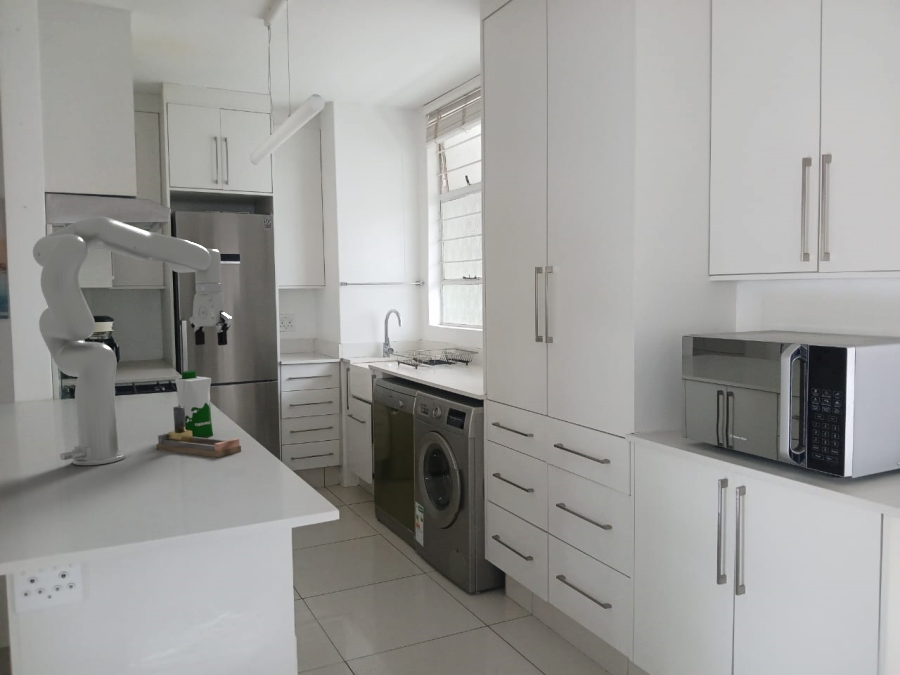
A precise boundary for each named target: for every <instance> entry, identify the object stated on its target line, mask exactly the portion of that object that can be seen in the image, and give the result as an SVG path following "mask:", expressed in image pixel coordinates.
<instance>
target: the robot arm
mask: <svg viewBox="0 0 900 675" xmlns="http://www.w3.org/2000/svg"><path fill="white" fill-rule="evenodd" d="M32 248H33V249H32V255H33V256H32V257H33V259H34V261H35V262H36V263H37V264H38V265H39V266H41V267H42V270H41V274H40V288H41V292H42V295H43V297H44V300H45V302H46V306H47V308H45V309H44V310H43V311H42V312H41V314H40V317H39V321H38V325H39V326H38V328H39V331H40V334H41V336H42V339H43V341H44V343H45V346H46V347H47V350H48V351H49V354H50V356H51V357H52V358H51V359H53V361H54V363H55V366H56V367H57V368H58V370H59V371H60V372H62V373H63V374H65V375H66V376H70V377H73V378H75V377H76V378H77V379H76V383H75V389H74V402H75V412H76V413H75V416H76V430H77V433H76V434H77V445H74V446H73V447H74V449H72V450H71V451H65V452H61V453H60V454H59V457H60V460H61V461H66V460H70V459H71V460H72V464H74V465H76V466H95V465H104V464H110V463H115V462H117V461H121V460H123V459H125V457H126V452H125V451H122V450H119V434H118V432H119V431H118V418H117V404H116V402H117V401H116V388H115V387H116V372H117V367H118V366H117V365H118V362H117V356H116V353H115V352H114V350H113V349H112V348H111V347H110V346H109V345H107V344H104V343H102V342H98V341H85V340H87V339H89V338H90V337H92V335H93V334H94V333H95V330H96V322H95V318H94V316H93V314H92V311H91V309H90V307H89V305H88V302H87V300H86V298H85V296H84V293H83V291H82V289H81V286H80V283H79V282H80V280H79V276H80V275H79V274H80V272H81V268H82V266H83V265H84V263H85V261H86V260H87V258H88V254H89V252H90V251H91V250H99V249H100V250H104V251H108V252H111V253H115V254H117V255H121V256H125V257H128V258H130V259H131V258H132V259H134V260H138V261H143V262H155V263H156V262H159V263H166V265H167V267H168V268H169V269H170V271H173V272H176V273H179V274H180V273H181V274H185V273H186V274H187V273H195V274H194V276H195V293H194V296H193V300H192V302H193V304H192V316H190V317H189V318H188V319H189V320H188V321H189V323H190V324H191V325H190V326H191V328H192V330H193V332H194V338H195V339H194V340H195V342H194V343H195V345H196V346H202V345H205V344H206V341H205V340H206V339H205V338H206V337H205V336H206V334H205V331H204V330H205V328H206V327H215V328H216V330H217V331H218V332H217V335H216V336H217V345H218V346H226V345H228V332H229V328H230V327H231V323H232V321H233V318H232V316H230V315H229V314H227V311H226V310H227V309H226V304H225V299H224V294H223V288H222V286H223V285H222V263H221V259H222V258H221V252H220V251H219V249H215V248H205V247H204V246H202V245H200V244H197V243H194V242H191V241H189V240H186V239H182V238H178V237H175V236H170V235H166V234H162V233H157V232H153V231H148V230H145V229H142V228H139V227H135V226H134V225H130V224H128V223H125V222H121V221H120V220H116V219H113V218H111V217H106V216H95V217H86V218H83V219H80V220H77V221H75V222H73V223H71V224H69V225H66V226H64V227H63V228H61V229H58V230H56V231H54V232H52V233H49V234H47V235H45V236H43V237H41V238H40V239H38V240H37V241H36V242H35V244H34V246H33V247H32Z"/></svg>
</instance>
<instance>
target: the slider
mask: <svg viewBox="0 0 900 675" xmlns="http://www.w3.org/2000/svg"><path fill="white" fill-rule="evenodd" d="M172 410H173V423H174V424H173V425H174V428H173V429H174V430H172V431H168V433H169V440H173V441H181V442H191V441H193V437H192V431H190V430H186V422H185V406H178V405H177V406H173V409H172Z"/></svg>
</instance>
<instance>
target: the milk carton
mask: <svg viewBox="0 0 900 675" xmlns="http://www.w3.org/2000/svg"><path fill="white" fill-rule="evenodd" d="M181 376H182V378H176V379H175V380H174V381H175V385H176V391H177V403H178V405H177V406H185V422H186V430H190V431H192V437H201V438H208V437H212V436H214V433H213V432H214V430H213V424H212V423H213V422H212V412H211V393H210V392H211V383H212V378H211V377H207V376H197V371H196V370H184V371H182V372H181Z"/></svg>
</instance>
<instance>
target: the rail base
mask: <svg viewBox="0 0 900 675" xmlns="http://www.w3.org/2000/svg"><path fill="white" fill-rule="evenodd" d="M157 438H158V439H157V440H158V443H156V444H155V446H156V450H159V451H167V452H175V453H180V454H190V455H197V456H202V457H203V456H204V457H211V458H222V457H225V456H229V455H233V454H235V453H239V452H242V446H241V445H240V438H230V439H227V440H225V439H216V438H208V437H203V438H201V437H193V441H191V442H181V441H173V440H169V432H168V433H163V434H160V435H157Z"/></svg>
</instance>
